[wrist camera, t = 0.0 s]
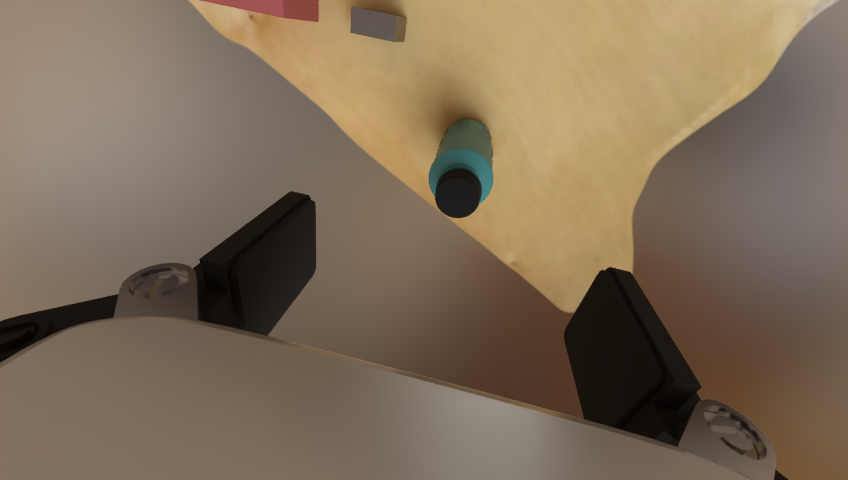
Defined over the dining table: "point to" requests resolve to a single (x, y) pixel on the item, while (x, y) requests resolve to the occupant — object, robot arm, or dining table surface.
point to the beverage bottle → (462, 169)
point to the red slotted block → (277, 7)
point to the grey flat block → (378, 24)
